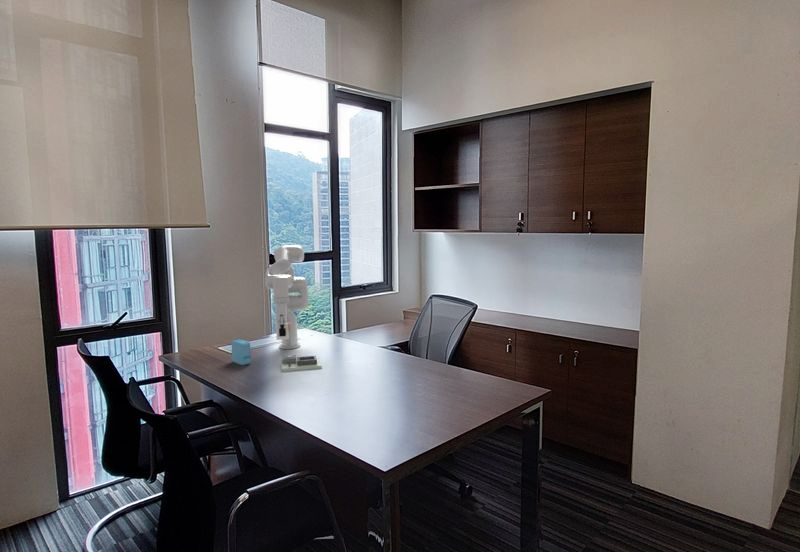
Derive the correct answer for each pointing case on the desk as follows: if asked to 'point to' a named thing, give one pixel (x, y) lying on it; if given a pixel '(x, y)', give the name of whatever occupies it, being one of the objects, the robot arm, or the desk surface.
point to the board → (300, 363)
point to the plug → (287, 326)
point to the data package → (241, 352)
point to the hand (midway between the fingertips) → (282, 334)
